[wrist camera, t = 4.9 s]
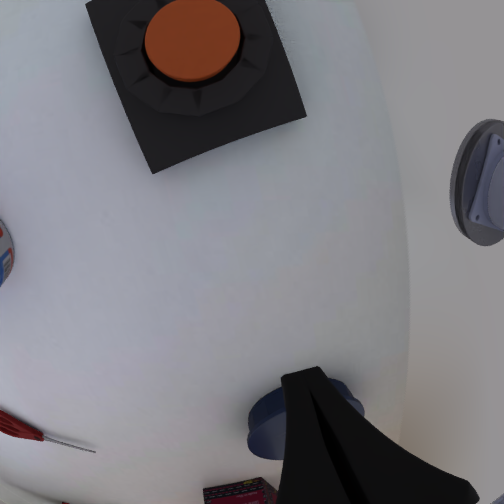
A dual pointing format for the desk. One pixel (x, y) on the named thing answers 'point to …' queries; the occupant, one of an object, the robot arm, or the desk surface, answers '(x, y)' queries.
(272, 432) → the tin lid
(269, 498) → the box
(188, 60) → the button
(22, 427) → the scissors
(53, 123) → the desk surface
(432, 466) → the robot arm
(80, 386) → the desk surface
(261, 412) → the tin
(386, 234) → the desk surface
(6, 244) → the pill bottle
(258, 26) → the control block
